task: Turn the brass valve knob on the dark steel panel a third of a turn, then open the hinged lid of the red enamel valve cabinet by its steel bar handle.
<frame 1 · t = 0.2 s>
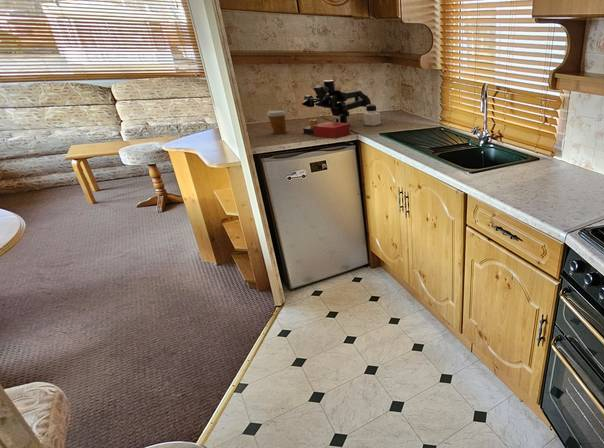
hand: (308, 104, 222), 17 cm above the worktop, tool horizontal, fingers open, 9 cm apart
medicine bottle: (372, 124, 256), on the worktop
valve panel: (314, 132, 233), on the worktop
disposable coffee cup: (280, 133, 231), on the worktop
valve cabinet: (332, 134, 228), on the worktop
valve knob: (313, 123, 231), point 5 cm above the worktop, hinge at 0.0°
cabinet lid: (330, 121, 226), point 7 cm above the worktop, hinge at 0.0°
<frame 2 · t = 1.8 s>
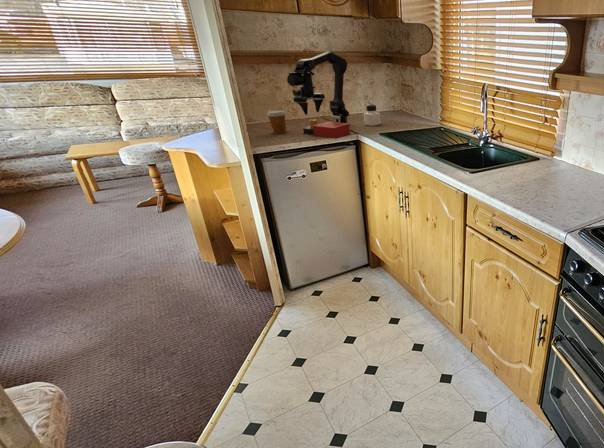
hand: (312, 113, 229), 11 cm above the worktop, tool pointing down, fingers open, 9 cm apart
nothing on the worktop moved.
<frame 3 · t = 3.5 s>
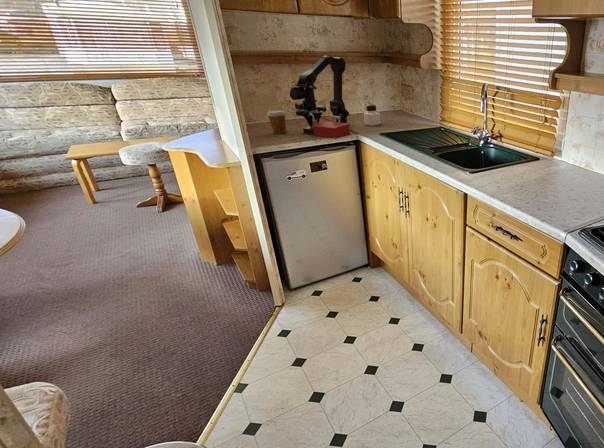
hand: (314, 126, 232), 4 cm above the worktop, tool pointing down, fingers closed on valve knob, 4 cm apart
valve knob: (313, 123, 231), point 5 cm above the worktop, hinge at 0.0°, touching gripper
everything else where it was.
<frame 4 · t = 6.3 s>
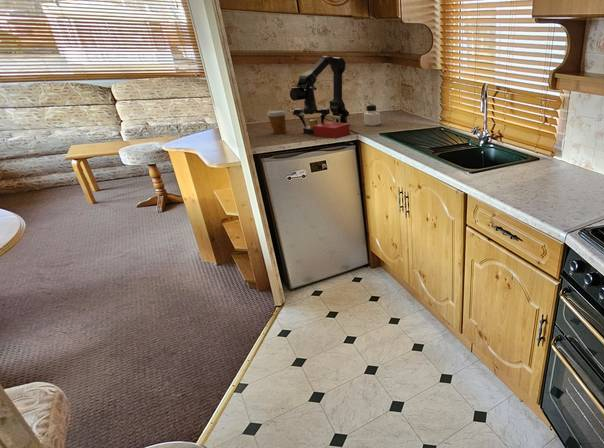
hand: (313, 126, 232), 3 cm above the worktop, tool pointing down, fingers open, 9 cm apart
valve knob: (313, 123, 231), point 5 cm above the worktop, hinge at 119.6°
everything else where it was.
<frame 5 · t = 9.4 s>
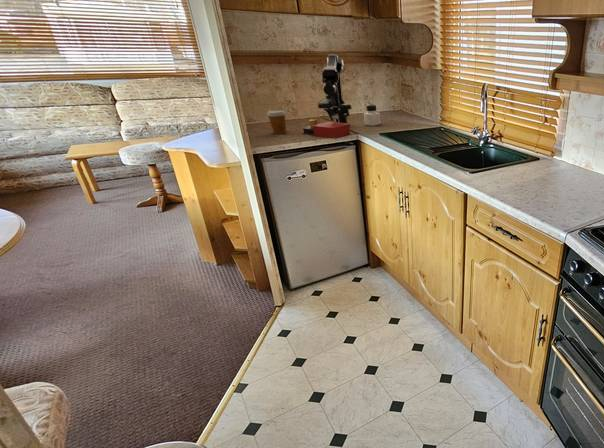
hand: (336, 121, 230), 6 cm above the worktop, tool pointing down, fingers closed on cabinet lid, 5 cm apart
cabinet lid: (330, 121, 226), point 7 cm above the worktop, hinge at -0.1°, touching gripper
everything else where it was.
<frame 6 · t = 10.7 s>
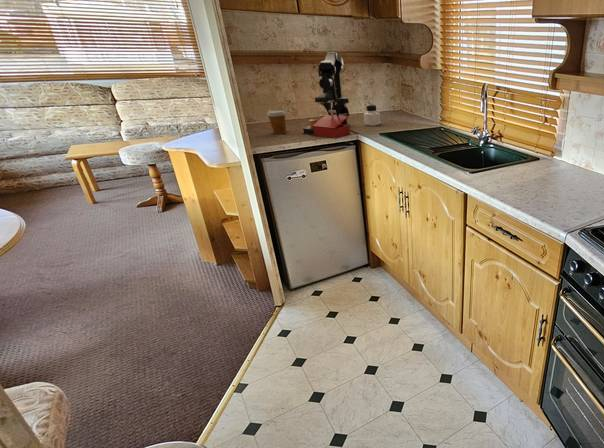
hand: (333, 115, 227), 10 cm above the worktop, tool pointing down, fingers closed on cabinet lid, 5 cm apart
cabinet lid: (329, 118, 224), point 9 cm above the worktop, hinge at 18.9°, touching gripper
everything else where it was.
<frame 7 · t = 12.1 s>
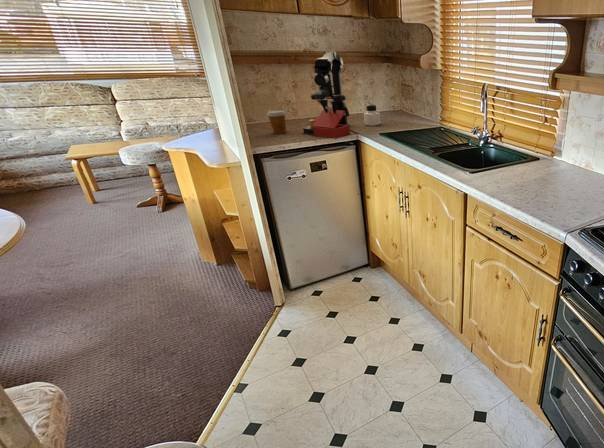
hand: (330, 113, 224), 12 cm above the worktop, tool pointing down, fingers closed on cabinet lid, 5 cm apart
cabinet lid: (327, 116, 222), point 11 cm above the worktop, hinge at 34.4°, touching gripper
everything else where it was.
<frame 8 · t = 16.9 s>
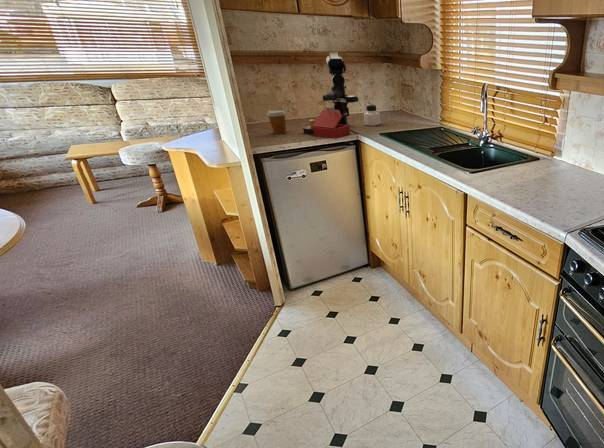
hand: (342, 115, 216), 13 cm above the worktop, tool pointing down, fingers closed
cabinet lid: (327, 116, 222), point 11 cm above the worktop, hinge at 35.0°
everything else where it was.
at the end: valve knob at +120° (first picture: +0°); cabinet lid at +35° (first picture: +0°) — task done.
